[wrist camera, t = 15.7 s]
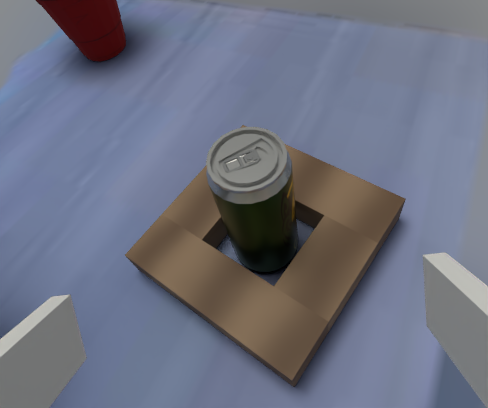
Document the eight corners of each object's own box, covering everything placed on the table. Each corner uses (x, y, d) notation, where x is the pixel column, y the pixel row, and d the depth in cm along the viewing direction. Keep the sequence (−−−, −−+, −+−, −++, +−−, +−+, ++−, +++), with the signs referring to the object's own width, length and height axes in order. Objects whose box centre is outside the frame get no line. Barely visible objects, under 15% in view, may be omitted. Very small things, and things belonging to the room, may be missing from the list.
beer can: (248, 285, 32) (218, 208, 22) (226, 232, 35) (191, 143, 25) (309, 260, 33) (306, 172, 23) (282, 209, 35) (270, 112, 25)
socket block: (138, 269, 34) (124, 255, 32) (247, 145, 40) (242, 125, 38) (294, 387, 28) (291, 380, 25) (398, 218, 33) (405, 198, 31)
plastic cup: (52, 54, 54) (-9, -37, 44) (116, 14, 57) (74, -80, 47) (89, 88, 49) (31, -6, 39) (159, 42, 52) (121, -57, 42)
